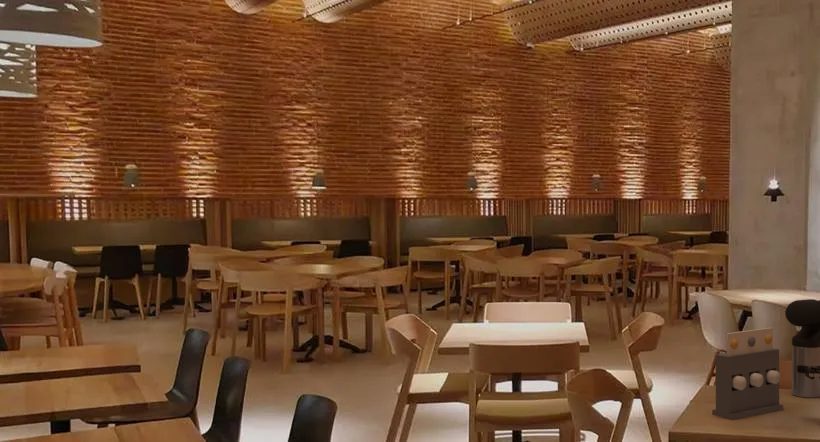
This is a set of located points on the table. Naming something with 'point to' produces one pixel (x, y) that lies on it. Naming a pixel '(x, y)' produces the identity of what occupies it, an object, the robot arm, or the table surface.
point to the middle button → (755, 379)
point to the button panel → (751, 397)
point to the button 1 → (738, 382)
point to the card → (749, 341)
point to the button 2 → (772, 376)
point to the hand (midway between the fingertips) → (798, 368)
